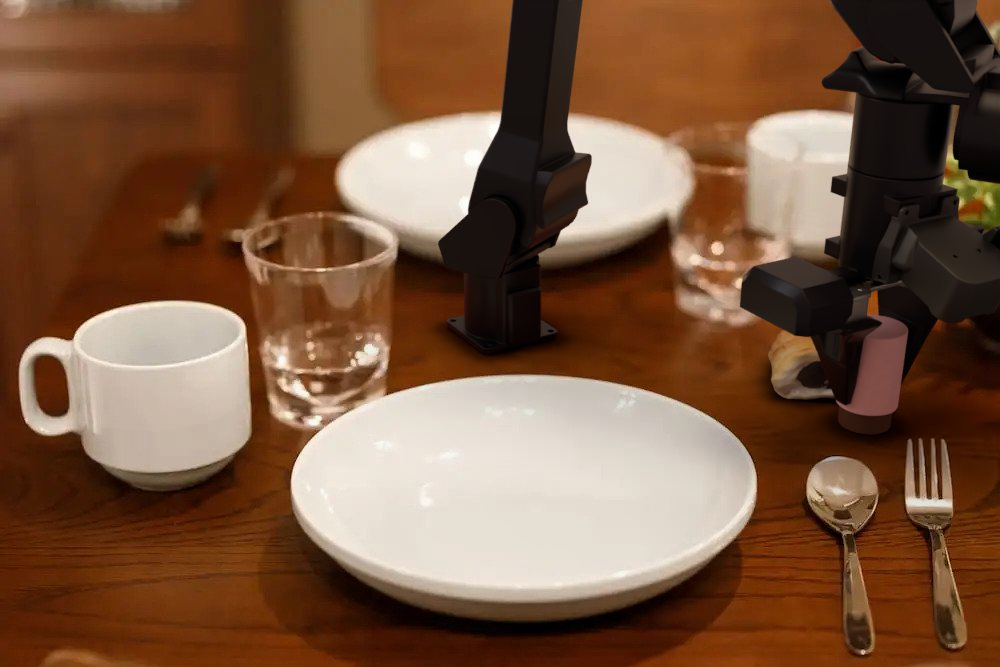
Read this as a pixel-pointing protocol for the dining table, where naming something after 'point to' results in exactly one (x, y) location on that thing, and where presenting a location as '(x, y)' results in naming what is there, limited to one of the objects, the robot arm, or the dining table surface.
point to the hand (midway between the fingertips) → (866, 395)
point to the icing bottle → (877, 379)
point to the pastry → (797, 368)
